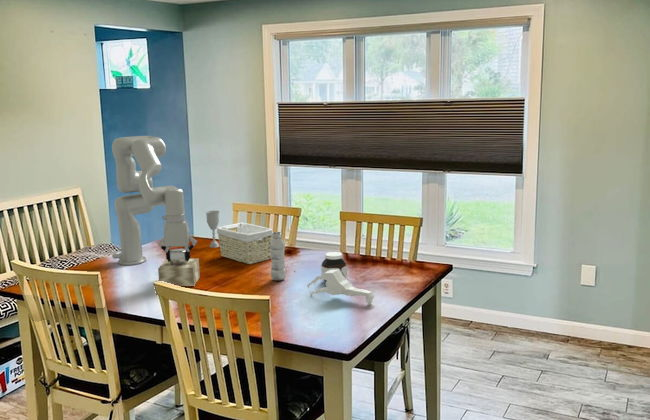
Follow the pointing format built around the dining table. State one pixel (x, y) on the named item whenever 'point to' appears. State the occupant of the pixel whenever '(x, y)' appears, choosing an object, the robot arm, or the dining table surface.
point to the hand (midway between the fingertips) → (178, 260)
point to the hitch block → (180, 273)
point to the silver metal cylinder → (177, 256)
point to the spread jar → (334, 263)
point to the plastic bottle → (277, 257)
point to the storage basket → (245, 242)
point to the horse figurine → (340, 286)
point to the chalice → (213, 224)
